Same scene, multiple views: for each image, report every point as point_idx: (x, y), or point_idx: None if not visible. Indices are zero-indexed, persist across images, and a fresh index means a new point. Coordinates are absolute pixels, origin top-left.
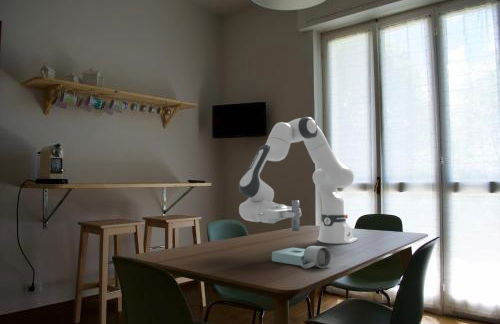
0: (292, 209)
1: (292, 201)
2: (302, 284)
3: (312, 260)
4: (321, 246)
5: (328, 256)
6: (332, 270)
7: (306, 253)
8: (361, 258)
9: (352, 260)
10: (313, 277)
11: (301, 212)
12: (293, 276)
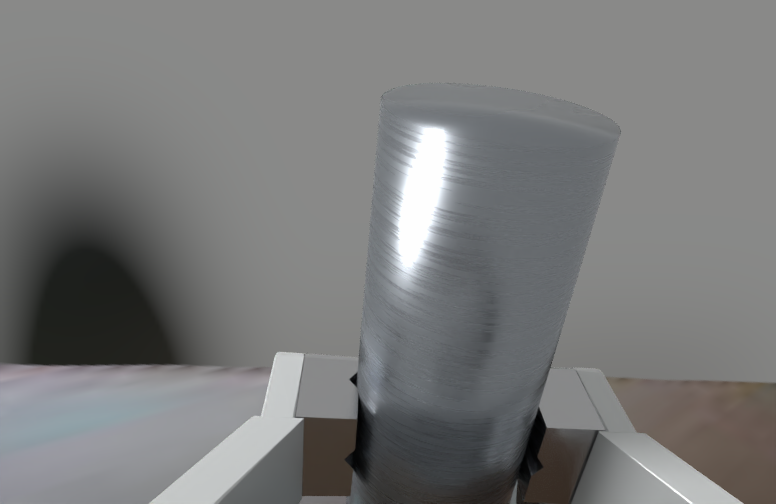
0: (550, 360)
1: (612, 155)
2: (758, 397)
3: None
4: None
5: None
6: None
7: (514, 498)
8: (25, 402)
9: (122, 419)
10: (643, 411)
11: (282, 355)
12: (738, 487)
